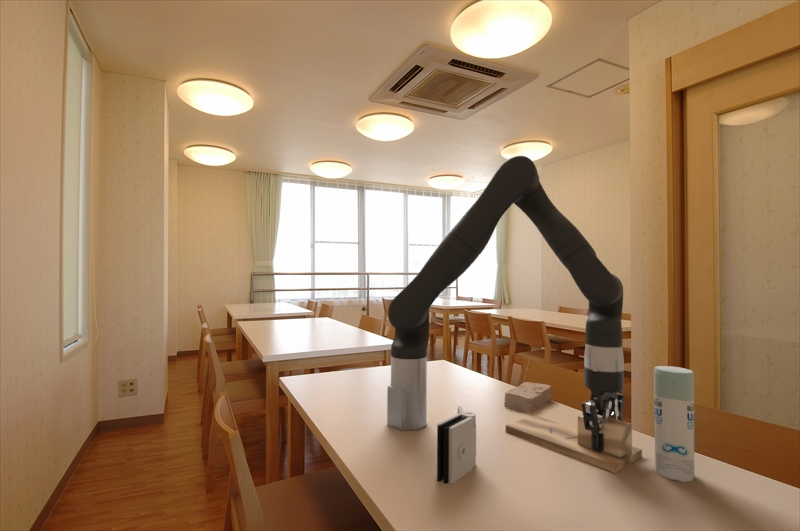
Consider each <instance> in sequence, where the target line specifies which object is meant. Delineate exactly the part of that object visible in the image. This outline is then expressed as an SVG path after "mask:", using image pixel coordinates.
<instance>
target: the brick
mask: <svg viewBox="0 0 800 531" xmlns="http://www.w3.org/2000/svg"><path fill="white" fill-rule="evenodd" d="M551 398H552V386H551V385H549V384H545V383H538V382H528V381H525V382H523V383H521V384H520V385H519V386H516V387H513V388H511V389H509V390H507V391H506V392H505V393H504V402H503V405H504V407H506V408H508V409H513V410H518V411H521V412H526V413H531V412H533V411H535V409H538V408H539V407H541V406H543V405H545V404H546V403H547V402H549V401H550V400H551Z"/></svg>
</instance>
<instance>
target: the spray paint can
mask: <svg viewBox="0 0 800 531" xmlns="http://www.w3.org/2000/svg"><path fill="white" fill-rule="evenodd" d="M653 402H654V404H653V405H654V409H653V410H654V416H653V417H654V459H655V460H654V461H655V462H654V463H655V464H654V465H655V466H654V468H655V471H656V473H657V474H658V475H660V476H662V477H663V478H666V479H669V480H672V481H676V482H681V483H682V482H683V483H685V482H686V483H689V482H692V481H694V480H695V374H694V371H693V370H691V369H688V368H684V367H679V366H670V365H659V366H655V367H654V370H653Z"/></svg>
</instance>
